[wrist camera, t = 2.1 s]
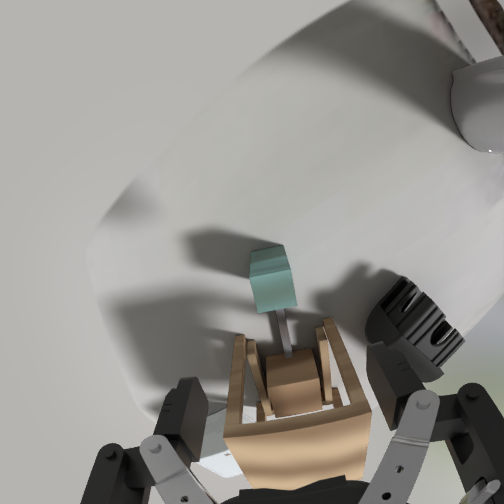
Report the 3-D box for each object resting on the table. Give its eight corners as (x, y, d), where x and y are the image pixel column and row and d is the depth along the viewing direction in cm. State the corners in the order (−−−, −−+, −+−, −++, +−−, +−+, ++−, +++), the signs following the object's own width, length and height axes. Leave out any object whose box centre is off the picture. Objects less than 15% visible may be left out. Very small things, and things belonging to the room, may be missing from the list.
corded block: (240, 253, 26) (235, 280, 21) (294, 242, 26) (304, 266, 20) (273, 387, 31) (276, 424, 26) (315, 379, 31) (324, 416, 25)
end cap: (355, 320, 29) (376, 359, 22) (400, 271, 27) (433, 300, 20) (402, 358, 30) (424, 393, 24) (442, 317, 29) (470, 347, 22)
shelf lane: (234, 335, 29) (222, 438, 16) (332, 316, 28) (371, 411, 16) (258, 408, 33) (258, 496, 20) (337, 393, 32) (362, 478, 19)
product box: (198, 418, 34) (190, 460, 27) (233, 403, 32) (228, 448, 26) (228, 439, 35) (224, 479, 28) (262, 425, 34) (262, 468, 27)
